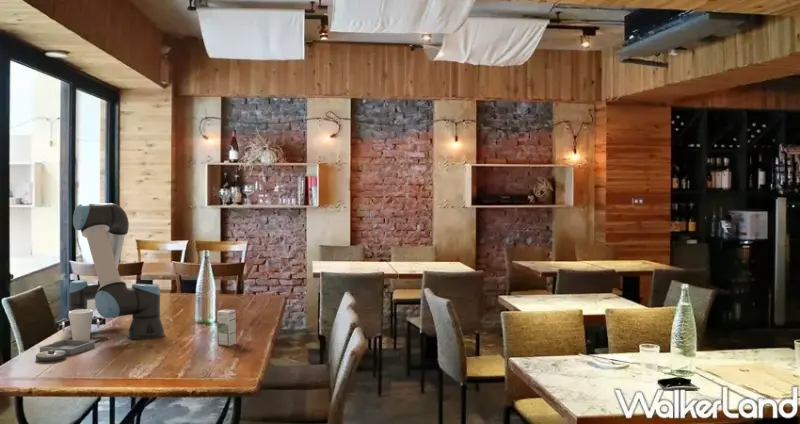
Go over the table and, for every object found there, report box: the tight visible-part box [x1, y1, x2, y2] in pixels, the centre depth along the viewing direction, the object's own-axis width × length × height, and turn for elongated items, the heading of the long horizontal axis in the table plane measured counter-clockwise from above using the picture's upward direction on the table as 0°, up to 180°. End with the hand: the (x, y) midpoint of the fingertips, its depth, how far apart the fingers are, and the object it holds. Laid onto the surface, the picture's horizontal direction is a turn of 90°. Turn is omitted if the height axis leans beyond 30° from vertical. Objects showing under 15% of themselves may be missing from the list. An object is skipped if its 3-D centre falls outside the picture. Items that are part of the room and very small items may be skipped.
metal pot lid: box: [35, 349, 67, 364], centre depth 270 cm, size 11×11×4 cm
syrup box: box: [216, 308, 237, 347], centre depth 296 cm, size 6×6×14 cm
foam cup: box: [68, 308, 94, 341], centre depth 301 cm, size 10×9×13 cm
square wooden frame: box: [53, 335, 109, 344], centre depth 301 cm, size 15×15×1 cm
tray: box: [39, 339, 95, 357], centre depth 284 cm, size 14×14×3 cm
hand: (81, 326), depth 298 cm, fingers open, 13 cm apart
